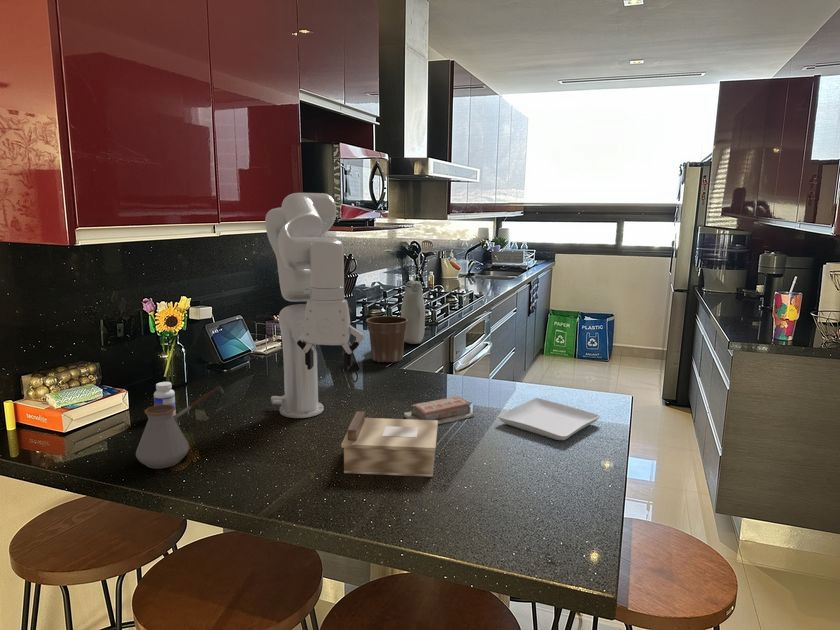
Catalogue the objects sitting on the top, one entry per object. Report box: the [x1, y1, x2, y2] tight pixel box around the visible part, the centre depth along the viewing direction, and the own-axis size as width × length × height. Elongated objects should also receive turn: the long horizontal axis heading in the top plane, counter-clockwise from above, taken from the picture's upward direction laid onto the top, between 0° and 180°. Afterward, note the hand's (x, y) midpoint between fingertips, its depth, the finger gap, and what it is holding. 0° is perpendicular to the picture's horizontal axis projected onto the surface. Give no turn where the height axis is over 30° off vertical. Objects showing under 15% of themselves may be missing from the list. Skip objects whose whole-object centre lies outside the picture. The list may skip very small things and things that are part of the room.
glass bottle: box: [400, 280, 426, 345], centre depth 249 cm, size 10×10×28 cm
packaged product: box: [403, 396, 475, 425], centre depth 164 cm, size 18×5×10 cm
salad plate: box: [497, 397, 601, 441], centre depth 159 cm, size 21×21×3 cm
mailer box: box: [343, 448, 436, 477], centre depth 136 cm, size 20×16×6 cm
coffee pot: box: [135, 385, 225, 469], centre depth 136 cm, size 21×12×15 cm, turn 137°
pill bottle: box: [153, 381, 177, 416], centre depth 161 cm, size 5×5×10 cm
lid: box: [340, 410, 439, 452], centre depth 135 cm, size 21×17×3 cm
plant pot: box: [365, 315, 408, 363], centre depth 224 cm, size 16×16×16 cm
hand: (328, 368), depth 133 cm, fingers open, 8 cm apart
